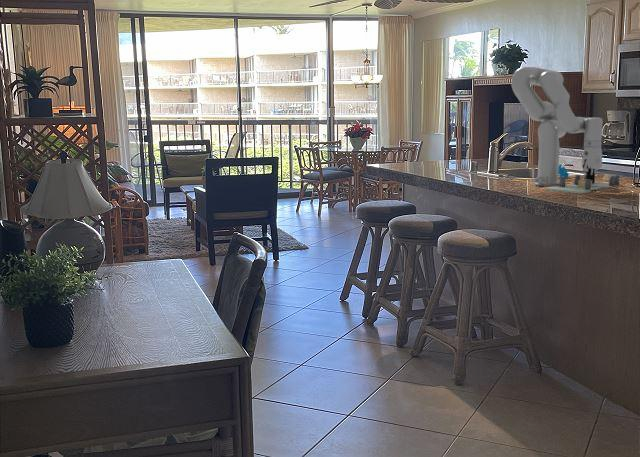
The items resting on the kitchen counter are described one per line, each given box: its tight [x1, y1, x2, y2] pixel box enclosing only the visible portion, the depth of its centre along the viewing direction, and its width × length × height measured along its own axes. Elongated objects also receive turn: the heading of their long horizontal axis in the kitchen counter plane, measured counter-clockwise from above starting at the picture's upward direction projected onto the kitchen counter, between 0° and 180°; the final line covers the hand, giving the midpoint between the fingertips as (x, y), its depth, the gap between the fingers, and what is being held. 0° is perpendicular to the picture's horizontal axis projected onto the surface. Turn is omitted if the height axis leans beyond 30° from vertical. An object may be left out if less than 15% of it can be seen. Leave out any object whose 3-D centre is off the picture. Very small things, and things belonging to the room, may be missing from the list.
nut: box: [578, 179, 592, 188], centre depth 317 cm, size 6×7×3 cm
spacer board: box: [545, 173, 621, 194], centre depth 319 cm, size 34×18×6 cm, turn 127°
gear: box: [558, 163, 570, 179], centre depth 363 cm, size 11×6×10 cm
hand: (590, 183), depth 321 cm, fingers closed
